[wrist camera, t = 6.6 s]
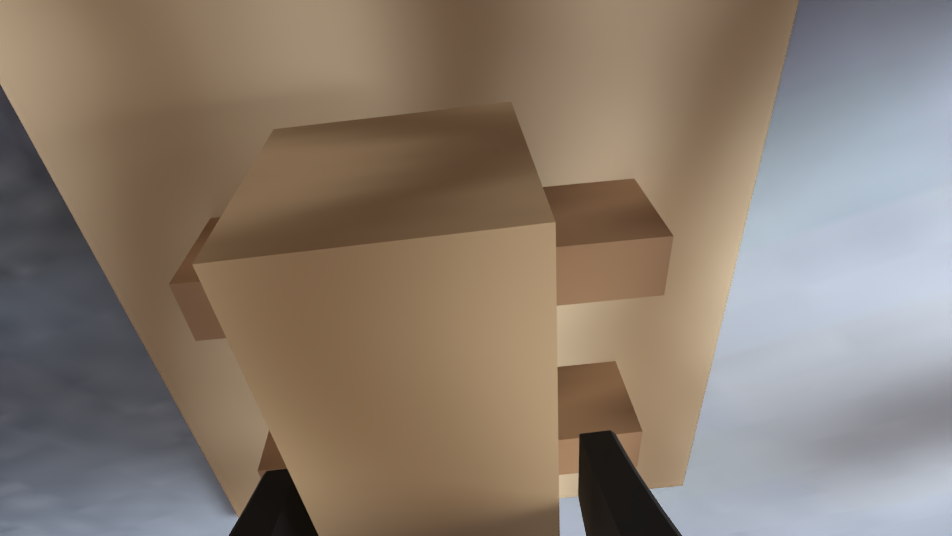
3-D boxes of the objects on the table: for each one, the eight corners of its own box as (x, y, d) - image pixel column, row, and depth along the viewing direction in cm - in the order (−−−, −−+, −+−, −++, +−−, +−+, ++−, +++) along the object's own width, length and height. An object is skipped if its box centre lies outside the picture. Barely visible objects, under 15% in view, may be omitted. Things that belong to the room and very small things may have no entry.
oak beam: (511, 102, 9) (555, 222, 6) (534, 508, 16) (561, 667, 13) (273, 129, 9) (192, 264, 6) (397, 525, 16) (389, 688, 13)
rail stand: (798, -97, 11) (923, -87, 8) (674, 466, 21) (711, 555, 19) (-29, -28, 11) (-187, 7, 8) (251, 510, 21) (225, 607, 18)
